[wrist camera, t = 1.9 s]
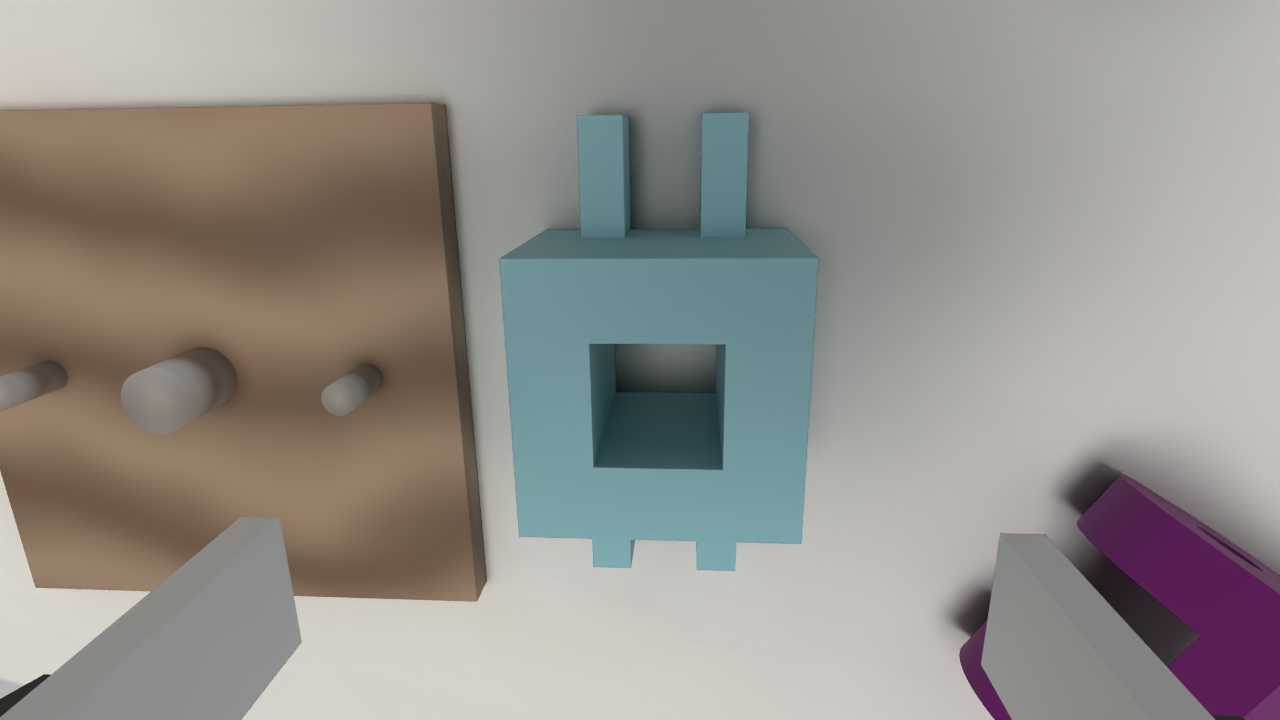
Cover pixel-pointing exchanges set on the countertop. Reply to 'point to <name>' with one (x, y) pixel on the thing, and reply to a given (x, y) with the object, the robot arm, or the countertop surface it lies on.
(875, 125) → the countertop surface
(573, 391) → the flange block
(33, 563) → the plate
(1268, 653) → the mounting bracket
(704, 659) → the countertop surface
